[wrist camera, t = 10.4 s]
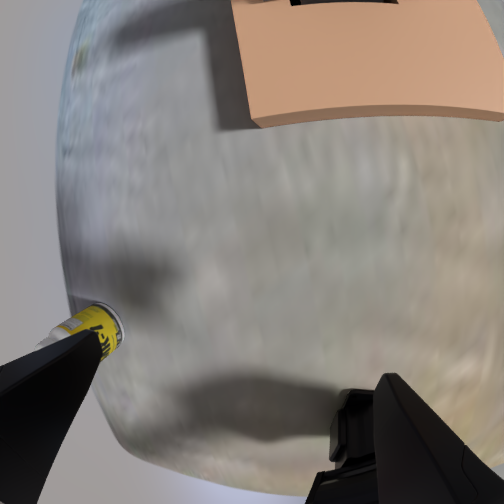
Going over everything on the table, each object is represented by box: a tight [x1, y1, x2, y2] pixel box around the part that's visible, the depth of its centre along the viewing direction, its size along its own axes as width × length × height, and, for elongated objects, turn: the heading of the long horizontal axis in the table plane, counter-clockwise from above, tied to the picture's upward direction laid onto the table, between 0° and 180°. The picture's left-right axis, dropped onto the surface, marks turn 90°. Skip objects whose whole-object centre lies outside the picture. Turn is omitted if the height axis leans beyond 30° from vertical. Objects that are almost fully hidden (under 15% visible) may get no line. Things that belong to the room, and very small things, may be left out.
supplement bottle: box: [35, 303, 124, 362], centre depth 20 cm, size 5×5×8 cm
